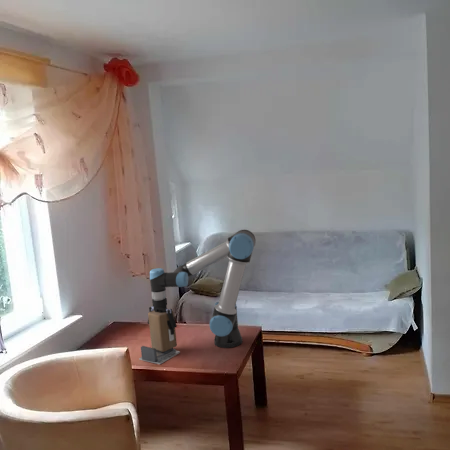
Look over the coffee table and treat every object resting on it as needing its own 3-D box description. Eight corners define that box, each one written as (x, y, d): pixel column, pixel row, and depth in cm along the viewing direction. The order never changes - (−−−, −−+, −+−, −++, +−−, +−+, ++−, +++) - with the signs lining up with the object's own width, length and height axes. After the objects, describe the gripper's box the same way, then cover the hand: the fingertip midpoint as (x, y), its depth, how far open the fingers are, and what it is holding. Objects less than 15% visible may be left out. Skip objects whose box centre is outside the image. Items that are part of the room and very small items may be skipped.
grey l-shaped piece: (179, 352, 286) (178, 339, 285) (159, 364, 273) (157, 350, 272) (159, 348, 294) (158, 335, 293) (138, 360, 281) (137, 346, 280)
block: (151, 348, 286) (147, 312, 283) (165, 342, 293) (162, 307, 290) (162, 352, 279) (158, 315, 276) (177, 346, 286) (174, 310, 283)
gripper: (181, 298, 278) (185, 339, 282) (147, 293, 292) (151, 333, 295) (171, 302, 272) (175, 344, 276) (137, 297, 285) (142, 337, 289)
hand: (163, 338), depth 286 cm, fingers closed on block, 11 cm apart
